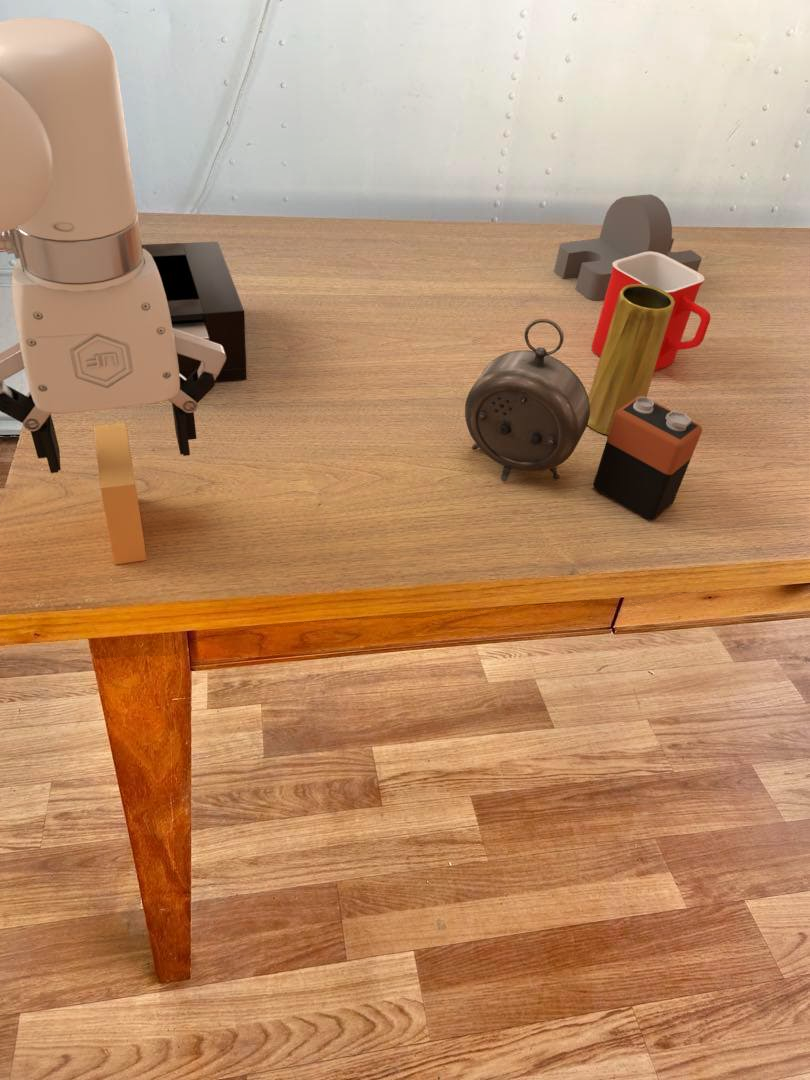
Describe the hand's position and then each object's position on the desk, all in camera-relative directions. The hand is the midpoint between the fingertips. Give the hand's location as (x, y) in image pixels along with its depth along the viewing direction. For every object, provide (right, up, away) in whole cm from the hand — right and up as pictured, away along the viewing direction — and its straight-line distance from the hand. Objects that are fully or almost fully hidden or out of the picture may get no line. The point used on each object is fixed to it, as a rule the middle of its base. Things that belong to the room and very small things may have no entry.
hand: (120, 453), depth 67 cm
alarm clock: (+33, 0, +16) cm, 36 cm away
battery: (+44, -3, +15) cm, 46 cm away
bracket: (+52, +29, +51) cm, 79 cm away
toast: (-1, -6, +5) cm, 8 cm away
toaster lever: (+1, +12, +16) cm, 20 cm away
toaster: (-3, +15, +27) cm, 31 cm away
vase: (+44, +6, +24) cm, 51 cm away
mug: (+50, +14, +34) cm, 62 cm away
